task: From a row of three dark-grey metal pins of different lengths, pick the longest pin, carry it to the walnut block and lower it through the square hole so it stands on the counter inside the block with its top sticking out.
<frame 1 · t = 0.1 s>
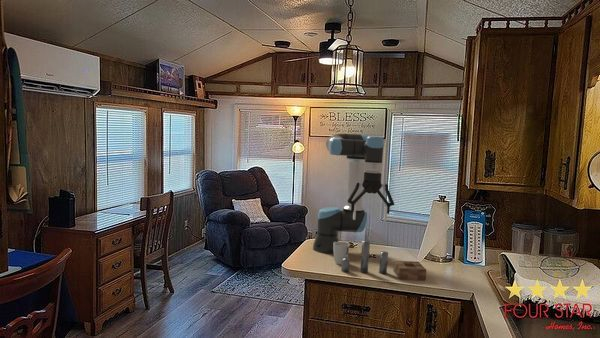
hand: (369, 220, 190), 28 cm above the kitchen counter, fingers open, 13 cm apart
hole block: (408, 275, 204), on the kitchen counter
cup: (340, 263, 217), on the kitchen counter
pin medium: (382, 272, 206), on the kitchen counter
pin short: (345, 271, 206), on the kitchen counter
pin long: (364, 272, 206), on the kitchen counter
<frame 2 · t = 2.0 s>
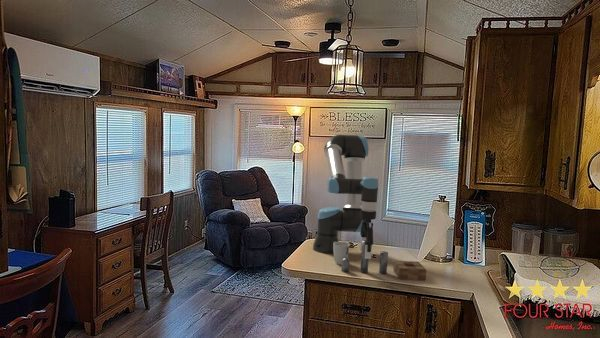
hand: (365, 254, 205), 9 cm above the kitchen counter, fingers open, 13 cm apart
nothing on the kitchen counter moved.
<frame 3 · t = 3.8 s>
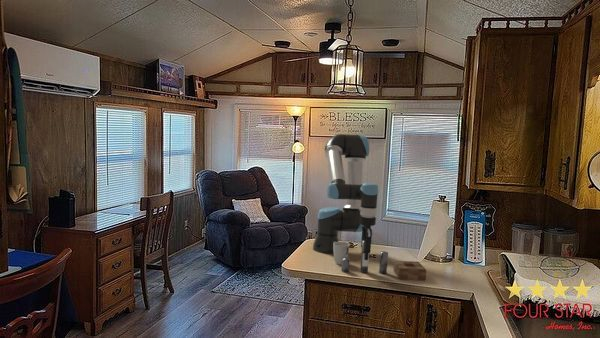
hand: (364, 264, 205), 4 cm above the kitchen counter, fingers closed on pin long, 4 cm apart
pin long: (364, 271, 206), on the kitchen counter, touching gripper
everything else where it was.
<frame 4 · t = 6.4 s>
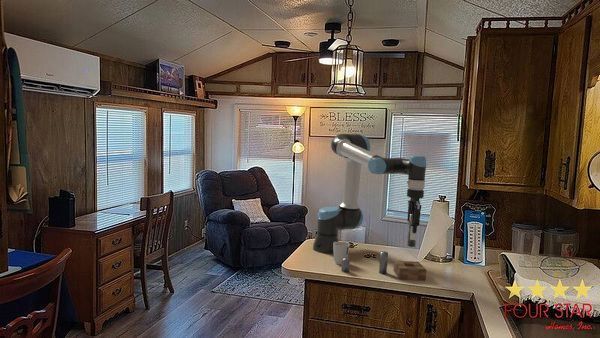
hand: (411, 238, 202), 18 cm above the kitchen counter, fingers closed on pin long, 4 cm apart
pin long: (411, 245, 203), point 14 cm above the kitchen counter, touching gripper
everything else where it was.
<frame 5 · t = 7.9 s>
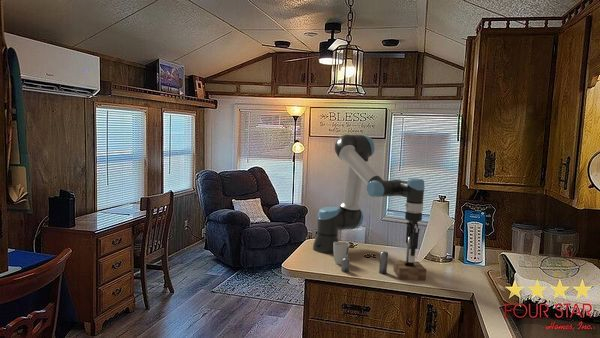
hand: (410, 260, 204), 7 cm above the kitchen counter, fingers closed on pin long, 4 cm apart
pin long: (409, 268, 204), point 3 cm above the kitchen counter, touching gripper
everything else where it was.
when the fingers open (6 cm above the kitchen counter, at t = 9.0 s): pin long drops 2 cm, resting in hole block.
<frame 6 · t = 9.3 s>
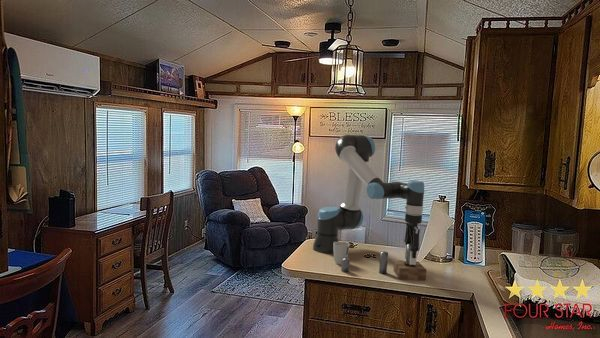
hand: (410, 261, 204), 7 cm above the kitchen counter, fingers open, 8 cm apart
pin long: (408, 275, 204), resting in hole block
everything else where it was.
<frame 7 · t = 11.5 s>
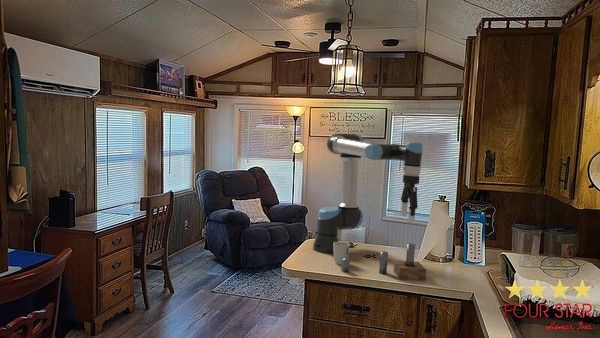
hand: (407, 219, 206), 26 cm above the kitchen counter, fingers open, 13 cm apart
nothing on the kitchen counter moved.
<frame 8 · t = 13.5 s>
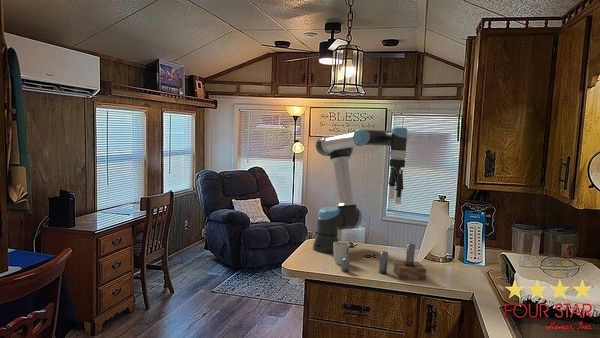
hand: (394, 201, 215), 33 cm above the kitchen counter, fingers open, 13 cm apart
nothing on the kitchen counter moved.
at the end: pin long 0.0 cm off-centre on the hole block, point 0.0 cm above the hole block's base; pin long tilted 0°; the gripper is holding nothing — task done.
